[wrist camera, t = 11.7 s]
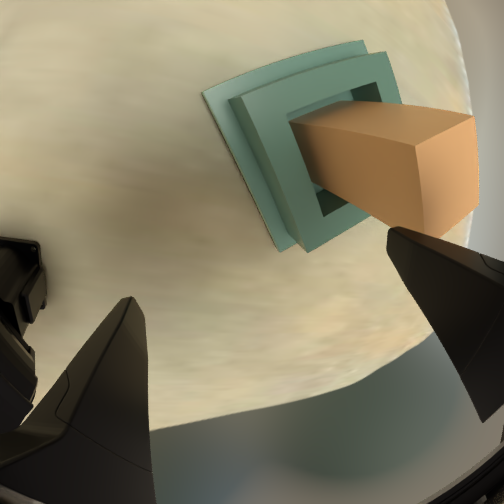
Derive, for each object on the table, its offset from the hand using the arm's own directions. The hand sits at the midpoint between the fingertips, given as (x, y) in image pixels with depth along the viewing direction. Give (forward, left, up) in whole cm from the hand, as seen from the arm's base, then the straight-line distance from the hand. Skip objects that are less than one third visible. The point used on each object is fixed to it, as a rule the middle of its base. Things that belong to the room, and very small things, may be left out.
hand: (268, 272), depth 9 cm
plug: (+8, +5, -12) cm, 15 cm away
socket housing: (+8, +5, -13) cm, 16 cm away
